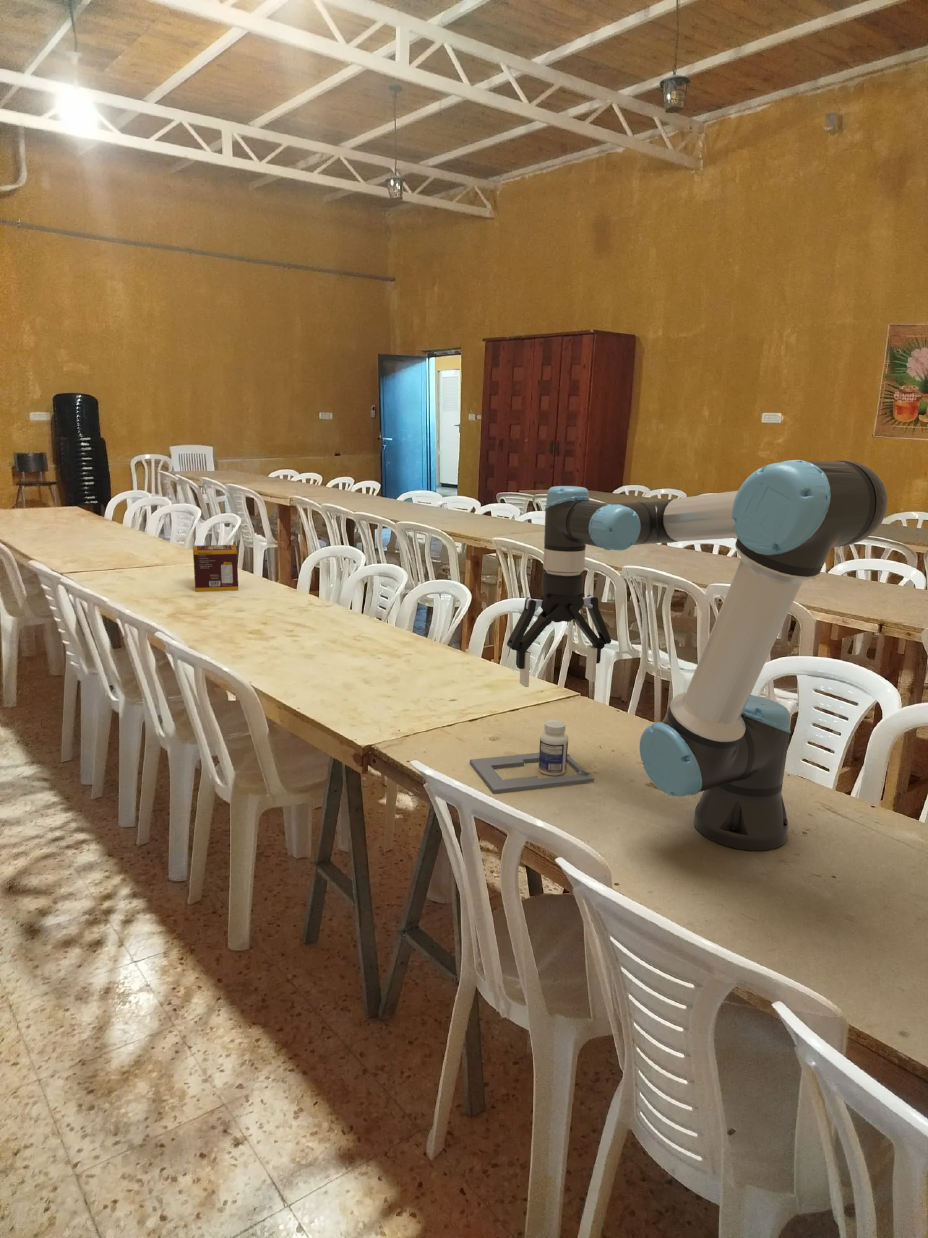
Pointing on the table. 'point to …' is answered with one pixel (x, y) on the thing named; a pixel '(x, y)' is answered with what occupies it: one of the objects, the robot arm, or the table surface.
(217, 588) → the supplement box
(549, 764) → the pill bottle
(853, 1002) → the table surface
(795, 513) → the robot arm
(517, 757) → the keyhole board
